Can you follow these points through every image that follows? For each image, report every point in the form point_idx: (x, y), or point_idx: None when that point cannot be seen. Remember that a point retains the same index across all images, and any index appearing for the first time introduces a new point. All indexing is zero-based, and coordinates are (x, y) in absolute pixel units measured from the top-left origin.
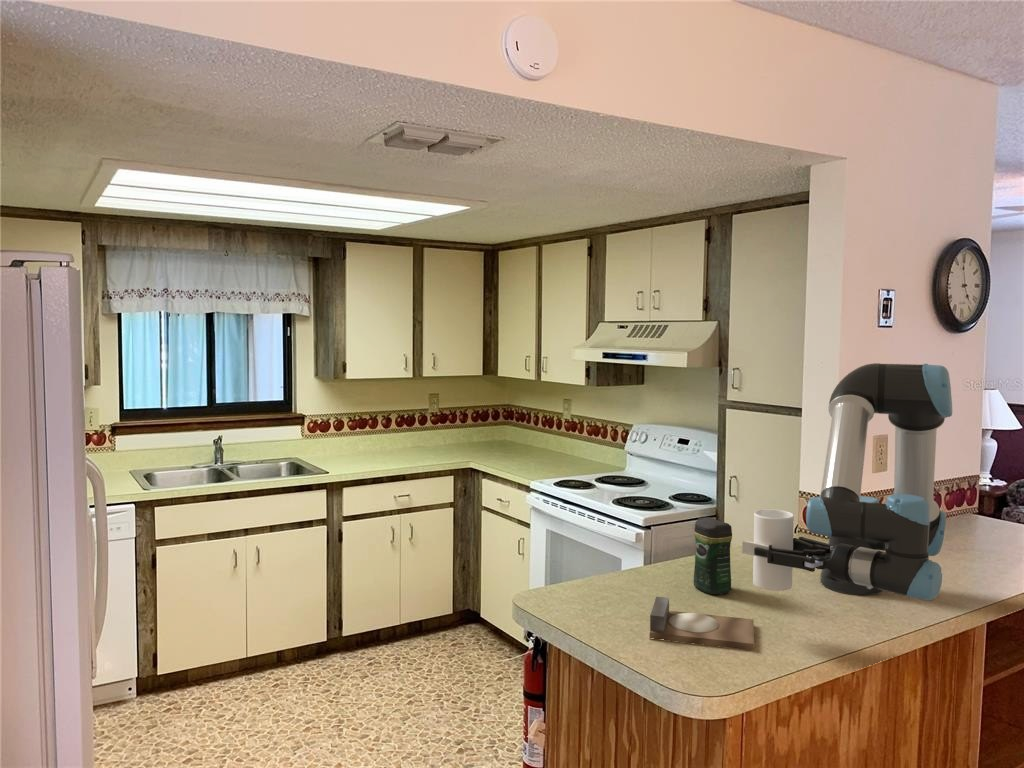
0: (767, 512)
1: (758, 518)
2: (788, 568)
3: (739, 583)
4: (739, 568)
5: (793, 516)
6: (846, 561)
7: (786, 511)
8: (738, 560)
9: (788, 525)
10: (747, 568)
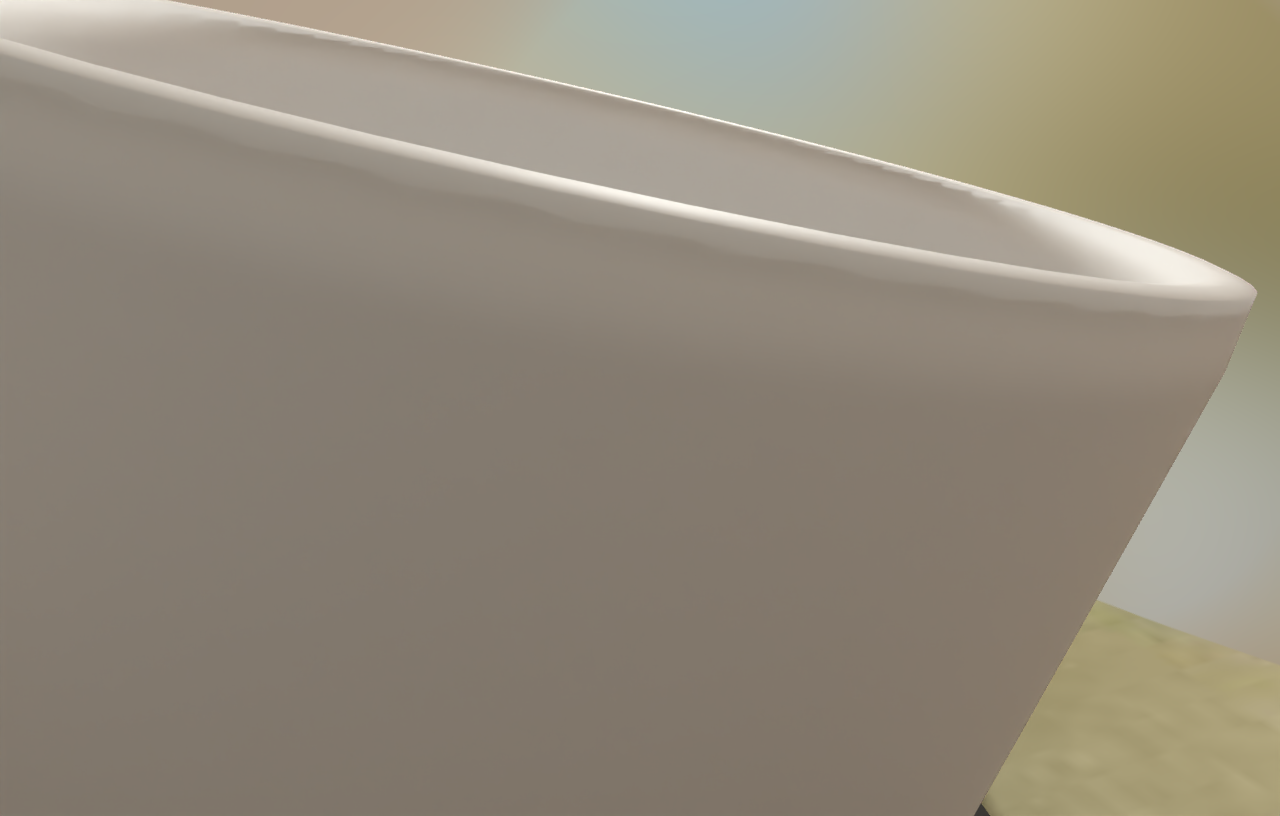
0: (853, 224)
1: (233, 89)
2: None
3: (1061, 811)
4: (1207, 759)
5: (942, 350)
6: None
7: (1195, 260)
8: (1270, 731)
9: (47, 590)
10: (1253, 789)
